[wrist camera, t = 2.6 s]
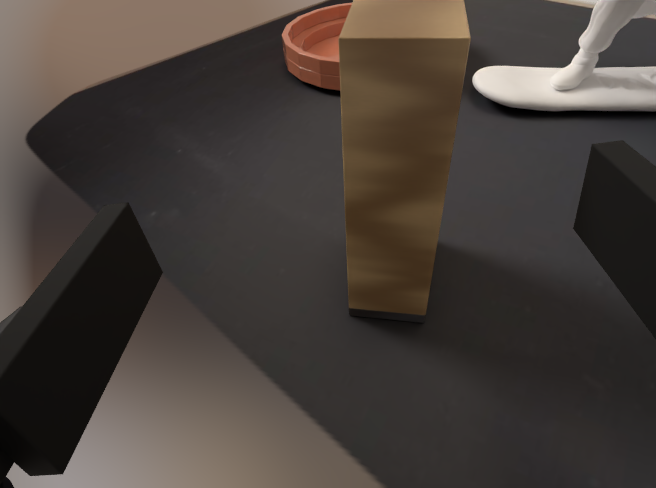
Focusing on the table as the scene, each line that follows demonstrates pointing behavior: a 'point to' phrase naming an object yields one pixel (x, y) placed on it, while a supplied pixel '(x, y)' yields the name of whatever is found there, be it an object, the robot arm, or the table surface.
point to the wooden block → (398, 145)
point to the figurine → (579, 72)
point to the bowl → (316, 45)
